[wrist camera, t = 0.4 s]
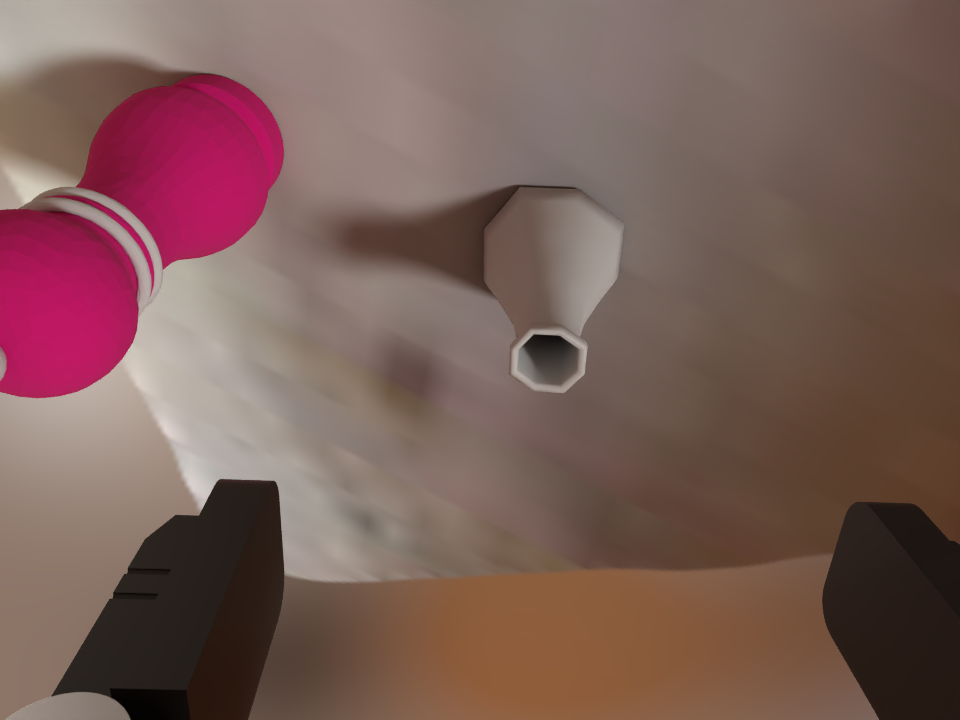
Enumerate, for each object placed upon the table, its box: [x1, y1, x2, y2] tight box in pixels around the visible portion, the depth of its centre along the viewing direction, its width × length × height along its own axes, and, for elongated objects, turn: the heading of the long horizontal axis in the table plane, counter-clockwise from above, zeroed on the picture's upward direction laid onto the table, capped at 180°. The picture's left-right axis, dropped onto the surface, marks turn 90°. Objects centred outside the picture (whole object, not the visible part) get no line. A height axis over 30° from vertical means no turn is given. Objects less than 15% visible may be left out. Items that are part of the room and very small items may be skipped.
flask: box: [483, 187, 624, 393], centre depth 35 cm, size 7×7×10 cm
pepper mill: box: [0, 75, 284, 398], centre depth 29 cm, size 7×7×20 cm
